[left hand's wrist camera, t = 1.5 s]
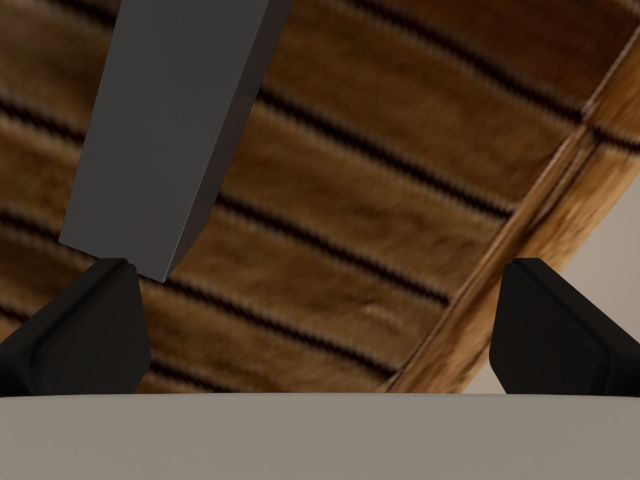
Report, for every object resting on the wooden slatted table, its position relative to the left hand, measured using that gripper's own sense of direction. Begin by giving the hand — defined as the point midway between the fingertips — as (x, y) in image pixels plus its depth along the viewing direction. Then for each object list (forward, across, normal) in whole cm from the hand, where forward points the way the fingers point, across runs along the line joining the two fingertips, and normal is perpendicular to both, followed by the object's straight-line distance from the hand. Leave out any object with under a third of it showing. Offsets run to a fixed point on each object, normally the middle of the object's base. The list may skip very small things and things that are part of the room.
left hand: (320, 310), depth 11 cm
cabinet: (+23, +8, -5) cm, 25 cm away
